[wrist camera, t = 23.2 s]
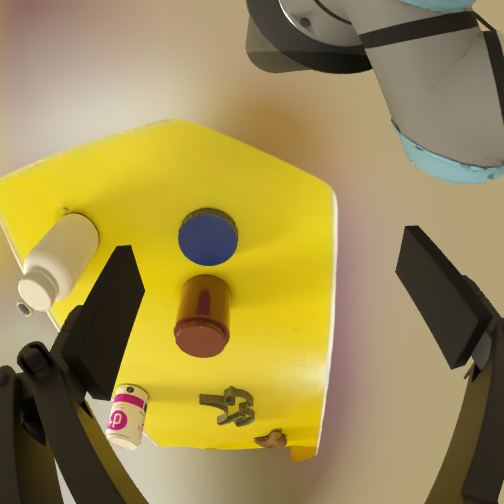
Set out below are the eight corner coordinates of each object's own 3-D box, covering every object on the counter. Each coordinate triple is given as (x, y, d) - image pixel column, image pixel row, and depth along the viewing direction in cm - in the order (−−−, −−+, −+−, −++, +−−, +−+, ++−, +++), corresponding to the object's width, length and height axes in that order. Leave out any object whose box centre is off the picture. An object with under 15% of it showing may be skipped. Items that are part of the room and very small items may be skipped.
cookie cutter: (195, 390, 65) (194, 397, 64) (244, 384, 64) (245, 391, 62) (220, 422, 75) (220, 428, 73) (263, 417, 73) (263, 423, 72)
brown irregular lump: (281, 427, 78) (282, 438, 75) (288, 438, 83) (289, 448, 80) (249, 432, 79) (249, 443, 76) (258, 443, 84) (258, 453, 81)
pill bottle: (89, 264, 46) (51, 328, 33) (52, 237, 43) (5, 294, 30) (108, 231, 43) (66, 296, 30) (68, 202, 40) (14, 257, 27)
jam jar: (228, 272, 47) (225, 321, 39) (233, 310, 52) (232, 359, 43) (177, 276, 47) (165, 323, 39) (187, 313, 52) (179, 360, 43)
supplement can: (111, 383, 65) (97, 435, 52) (138, 382, 64) (126, 437, 51) (128, 400, 69) (118, 449, 56) (154, 399, 68) (146, 451, 55)
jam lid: (182, 204, 41) (180, 209, 39) (242, 213, 42) (242, 219, 41) (177, 254, 45) (175, 261, 44) (232, 262, 46) (232, 270, 45)
